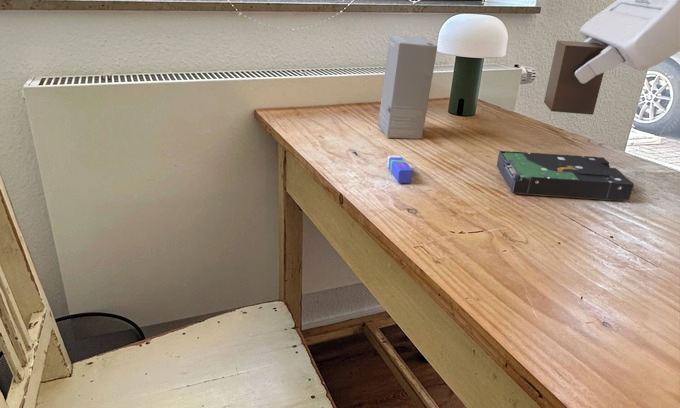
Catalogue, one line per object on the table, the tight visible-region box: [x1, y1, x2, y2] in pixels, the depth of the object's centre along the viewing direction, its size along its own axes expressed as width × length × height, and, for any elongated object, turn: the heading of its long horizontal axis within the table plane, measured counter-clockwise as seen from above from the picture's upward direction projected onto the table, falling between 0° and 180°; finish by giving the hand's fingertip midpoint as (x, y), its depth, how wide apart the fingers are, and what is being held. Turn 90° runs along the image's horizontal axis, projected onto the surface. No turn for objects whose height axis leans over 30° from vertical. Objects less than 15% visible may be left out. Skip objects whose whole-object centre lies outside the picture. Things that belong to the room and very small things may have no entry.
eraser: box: [386, 155, 414, 184], centre depth 69 cm, size 2×6×2 cm, turn 8°
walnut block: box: [543, 40, 607, 115], centre depth 64 cm, size 5×5×8 cm
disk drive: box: [496, 150, 635, 201], centre depth 69 cm, size 10×3×15 cm
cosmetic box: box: [377, 34, 438, 140], centre depth 86 cm, size 8×7×16 cm
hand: (570, 73), depth 64 cm, fingers closed on walnut block, 5 cm apart
